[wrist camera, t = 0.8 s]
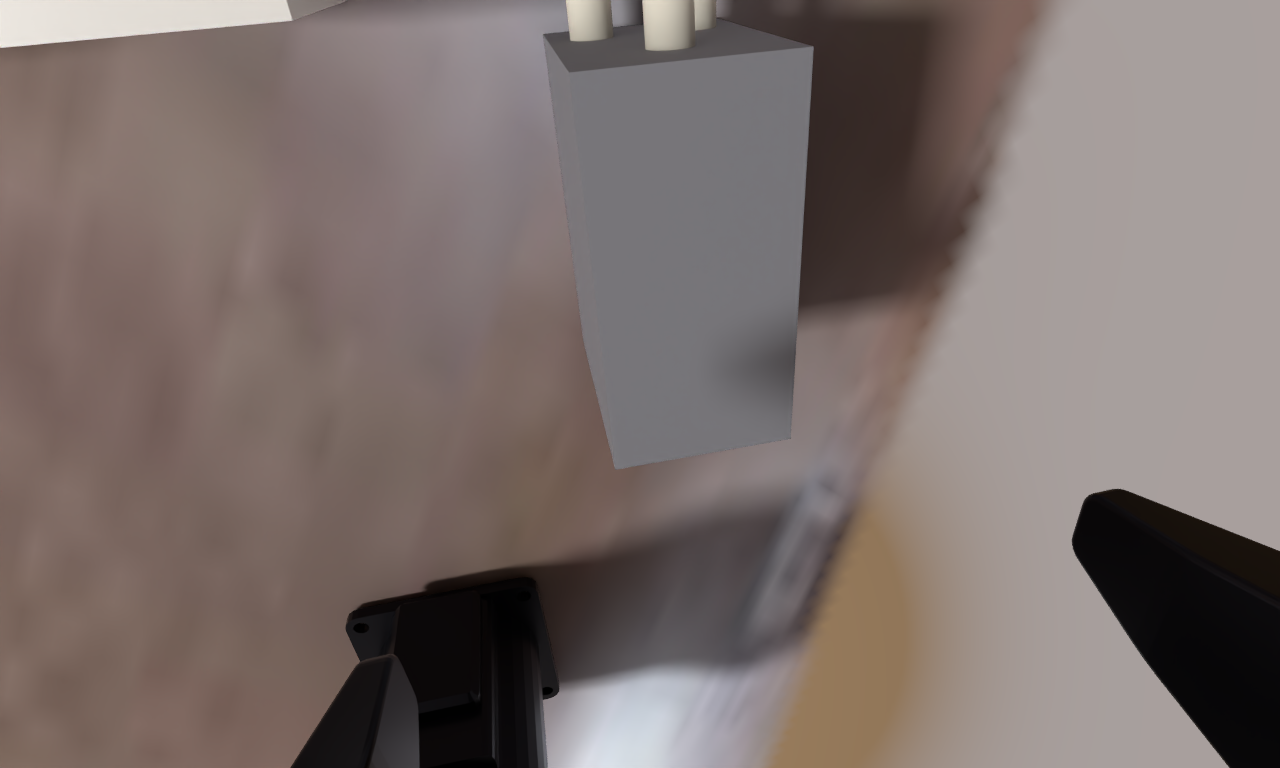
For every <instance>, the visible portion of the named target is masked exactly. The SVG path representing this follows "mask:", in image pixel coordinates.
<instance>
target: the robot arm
mask: <svg viewBox="0 0 1280 768" xmlns="http://www.w3.org/2000/svg"><path fill="white" fill-rule="evenodd" d="M1072 546H1073V550H1074V552H1075V555H1076V557H1077V558H1078V560H1079V561H1080V563H1081V565H1082V566H1083V568H1084V569H1085V571H1086V572H1087V574H1088V575H1089V577H1090V578H1091V580H1092V581H1093V583H1094V584H1095V586H1096V588H1097V589H1098V591H1099V592H1100V594H1101V595H1102V597H1103V598H1104V600H1105V601H1106V603H1107V604H1108V606H1109V607H1110V609H1111V610H1112V612H1113V613H1114V615H1115V617H1116V618H1117V619H1118V621H1119V622H1120V624H1121V626H1122V627H1123V629H1124V630H1125V632H1126V633H1127V635H1128V636H1129V638H1130V639H1131V641H1132V642H1133V644H1134V645H1135V647H1136V648H1137V650H1138V651H1139V652H1140V654H1141V655H1142V657H1143V658H1144V660H1145V661H1146V662H1147V664H1148V665H1149V666H1150V668H1151V669H1152V670H1153V672H1154V673H1155V674H1156V676H1157V677H1158V678H1159V679H1160V681H1161V682H1162V683H1163V684H1164V686H1165V687H1166V688H1167V690H1168V691H1169V692H1170V693H1171V695H1172V696H1173V697H1174V698H1175V699H1176V701H1177V702H1178V703H1179V704H1180V706H1181V707H1182V708H1183V710H1184V711H1185V712H1186V713H1187V715H1188V716H1189V717H1190V719H1191V720H1192V721H1193V722H1194V723H1195V725H1196V726H1197V727H1198V729H1199V730H1200V731H1201V732H1202V734H1203V735H1204V736H1205V737H1206V739H1207V740H1208V741H1209V742H1210V744H1211V745H1212V746H1213V748H1214V749H1215V750H1216V751H1217V753H1219V755H1220V756H1221V758H1222V759H1223V760H1224V761H1225V763H1226V764H1227V765H1228V766H1229V768H1280V551H1278V550H1275V549H1273V548H1270V547H1268V546H1265V545H1263V544H1260V543H1258V542H1255V541H1253V540H1250V539H1248V538H1245V537H1243V536H1240V535H1237V534H1235V533H1232V532H1230V531H1227V530H1225V529H1222V528H1220V527H1217V526H1214V525H1212V524H1209V523H1207V522H1205V521H1202V520H1199V519H1197V518H1194V517H1192V516H1189V515H1187V514H1184V513H1182V512H1179V511H1176V510H1174V509H1172V508H1169V507H1167V506H1164V505H1162V504H1159V503H1157V502H1154V501H1152V500H1149V499H1146V498H1144V497H1141V496H1139V495H1136V494H1134V493H1131V492H1129V491H1126V490H1122V489H1112V490H1107V491H1103V492H1098V493H1093V494H1091V495H1089V496H1088V497H1086V499H1085V500H1084V502H1083V505H1082V508H1081V511H1080V514H1079V517H1078V520H1077V524H1076V527H1075V530H1074V533H1073V537H1072ZM522 591H527V592H525V593H520V592H522ZM361 623H365V624H361ZM346 632H347V634H348V636H349V638H350V641H351V643H352V645H353V647H354V649H355V651H356V653H357V656H358V658H359V660H360V663H359V664H358V665H357V666H356V667H355V668H354V670H353V671H352V673H351V674H350V676H349V677H348V679H347V680H346V682H345V684H344V685H343V687H342V688H341V690H340V691H339V693H338V694H337V696H336V698H335V699H334V701H333V702H332V704H331V705H330V707H329V708H328V710H327V712H326V713H325V715H324V716H323V718H322V719H321V721H320V722H319V724H318V726H317V727H316V729H315V730H314V732H313V733H312V735H311V736H310V738H309V740H308V741H307V743H306V744H305V746H304V747H303V749H302V750H301V752H300V754H299V755H298V757H297V758H296V760H295V761H294V763H293V764H292V766H291V768H548V763H547V749H546V736H545V723H544V710H543V700H544V699H549V698H552V697H554V696H555V695H557V693H558V692H559V681H558V676H557V671H556V667H555V662H554V657H553V653H552V648H551V644H550V639H549V635H548V630H547V626H546V621H545V617H544V612H543V608H542V603H541V599H540V594H539V590H538V585H537V583H536V581H534V580H533V579H531V578H518V579H512V580H507V581H502V582H497V583H492V584H486V585H481V586H476V587H471V588H466V589H460V590H455V591H450V592H445V593H440V594H434V595H429V596H424V597H419V598H413V599H408V600H403V601H398V602H393V603H387V604H382V605H377V606H372V607H367V608H361V609H357V610H354V611H353V612H351V613H350V614H349V616H348V618H347V623H346Z"/></svg>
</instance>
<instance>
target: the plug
mask: <svg viewBox="0 0 1280 768" xmlns="http://www.w3.org/2000/svg"><path fill="white" fill-rule="evenodd" d="M642 3H643V19H644V24H641V25H631V26H621V27H613V24H612V12H611V0H566V6H567V15H568V24H569V32H561V33H551V34H543V38H544V45H545V53H546V60H547V68H548V76H549V83H550V91H551V98H552V106H553V114H554V121H555V129H556V136H557V144H558V152H559V159H560V167H561V174H562V182H563V189H564V197H565V205H566V212H567V220H568V227H569V235H570V243H571V250H572V258H573V265H574V273H575V281H576V288H577V296H578V303H579V311H580V319H581V326H582V334H583V341H584V346H585V350H586V354H587V358H588V362H589V366H590V370H591V374H592V378H593V382H594V386H595V390H596V394H597V398H598V402H599V406H600V410H601V414H602V418H603V422H604V426H605V430H606V434H607V438H608V442H609V446H610V450H611V454H612V458H613V462H614V466H615V470H616V469H622V468H627V467H633V466H639V465H644V464H650V463H656V462H661V461H667V460H673V459H679V458H684V457H690V456H696V455H701V454H707V453H713V452H718V451H724V450H730V449H735V448H741V447H747V446H752V445H758V444H764V443H769V442H775V441H781V440H786V439H791V422H792V406H793V389H794V372H795V355H796V338H797V321H798V304H799V287H800V270H801V253H802V236H803V219H804V202H805V185H806V168H807V151H808V134H809V117H810V100H811V83H812V66H813V49H814V46H810V45H807V44H803V43H800V42H797V41H793V40H790V39H786V38H783V37H779V36H776V35H773V34H769V33H766V32H762V31H759V30H756V29H752V28H749V27H745V26H742V25H738V24H735V23H732V22H728V21H725V20H721V19H718V18H716V0H642Z"/></svg>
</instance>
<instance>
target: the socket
mask: <svg viewBox="0 0 1280 768" xmlns="http://www.w3.org/2000/svg"><path fill="white" fill-rule="evenodd" d="M345 1H348V0H0V48H4V47H14V46H25V45H36V44H47V43H57V42H68V41H79V40H90V39H100V38H111V37H122V36H133V35H143V34H154V33H165V32H176V31H186V30H197V29H208V28H218V27H229V26H240V25H251V24H261V23H272V22H283V21H293V20H296V19H298V18H301V17H304V16H307V15H309V14H312V13H315V12H318V11H321V10H323V9H326V8H329V7H332V6H334V5H337V4H340V3H343V2H345Z"/></svg>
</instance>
